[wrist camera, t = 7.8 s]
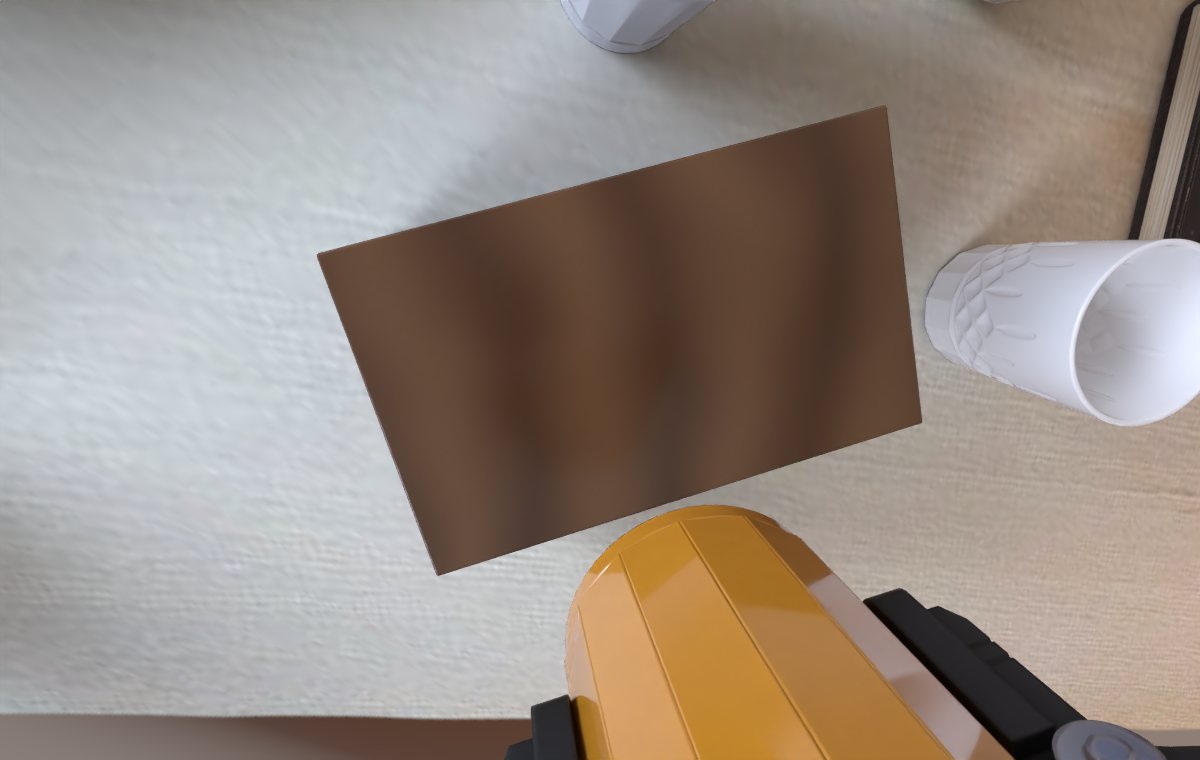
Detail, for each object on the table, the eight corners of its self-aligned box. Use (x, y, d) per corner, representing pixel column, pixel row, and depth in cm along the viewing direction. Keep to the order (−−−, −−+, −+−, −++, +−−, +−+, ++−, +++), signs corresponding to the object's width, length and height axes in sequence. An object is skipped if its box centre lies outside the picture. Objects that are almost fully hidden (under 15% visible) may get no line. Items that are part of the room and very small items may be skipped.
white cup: (996, 391, 37) (1171, 450, 27) (889, 346, 35) (1038, 392, 26) (1062, 266, 36) (1270, 281, 26) (954, 211, 34) (1137, 207, 24)
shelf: (456, 452, 32) (436, 577, 21) (384, 242, 29) (315, 254, 18) (778, 356, 34) (923, 423, 23) (741, 148, 31) (887, 104, 20)
